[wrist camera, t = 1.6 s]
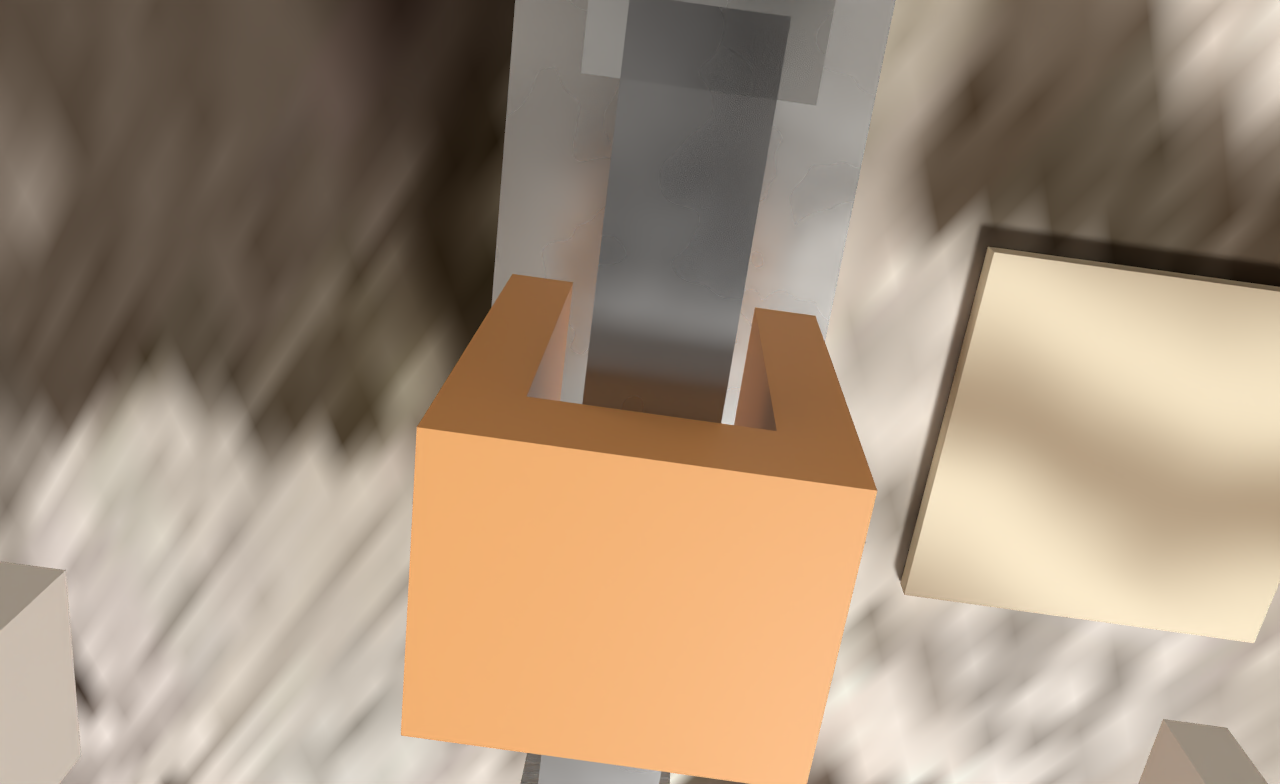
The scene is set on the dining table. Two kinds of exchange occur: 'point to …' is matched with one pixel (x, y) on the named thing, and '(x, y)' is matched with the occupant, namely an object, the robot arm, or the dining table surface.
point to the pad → (1109, 450)
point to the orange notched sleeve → (632, 557)
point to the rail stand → (680, 194)
